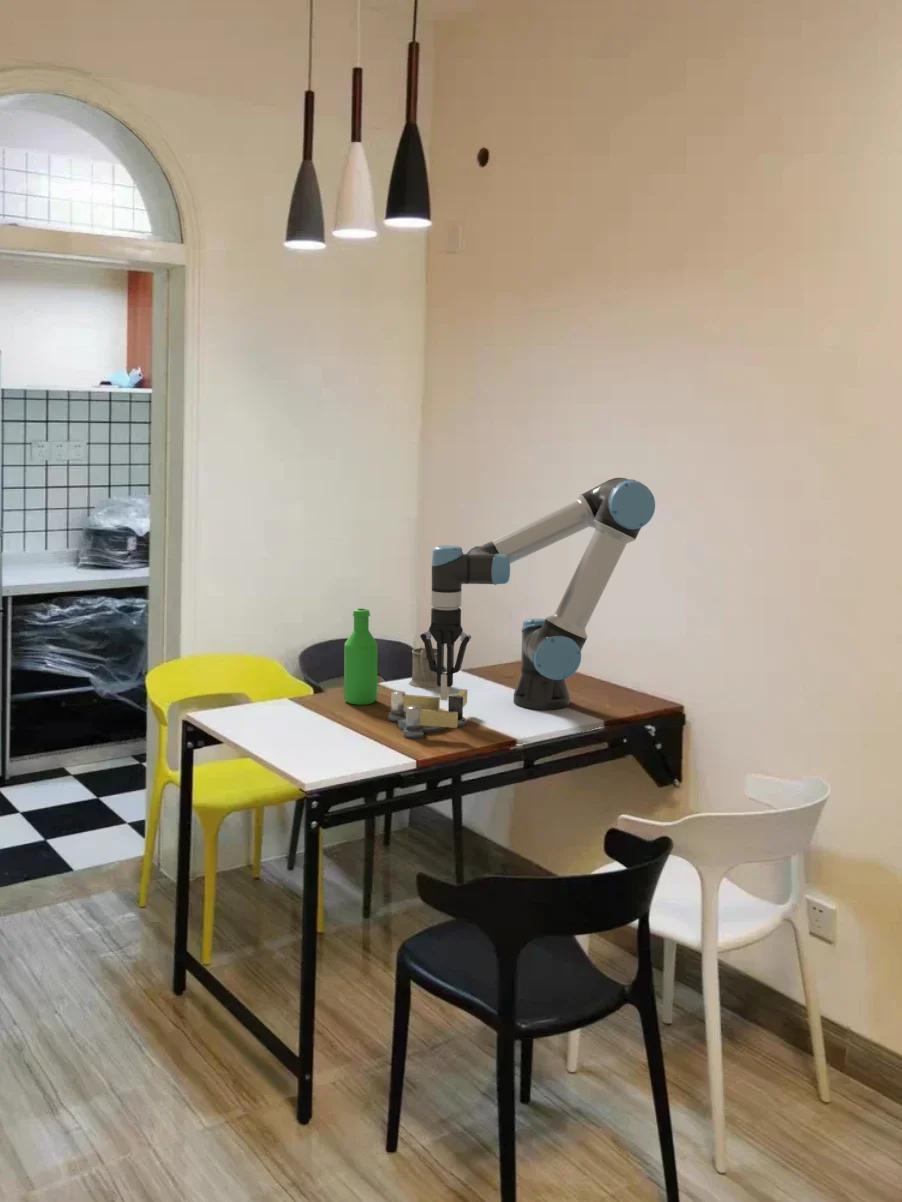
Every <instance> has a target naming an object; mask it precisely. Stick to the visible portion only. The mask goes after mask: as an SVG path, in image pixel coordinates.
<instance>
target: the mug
mask: <svg viewBox="0 0 902 1202" xmlns="http://www.w3.org/2000/svg"><path fill="white" fill-rule="evenodd" d="M433 652H434V656H435V661H436V665H437V647H436V648H435V647H434V648H433ZM411 653H412V672H411V673H412V675H411V676H412V677H411V680H410V681H409V682H408V685H410V686H412V687H414V688H420V689H421V688H422V689H432V688H433V689H435V688H441V686H438V685H437V673H436V672H434V671H431V670H430V667H429V663H428V658H427V654H426V649H425V646H419V647H418V648H414V649H412V650H411Z"/></svg>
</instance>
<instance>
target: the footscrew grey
mask: <svg viewBox="0 0 902 1202" xmlns="http://www.w3.org/2000/svg"><path fill="white" fill-rule="evenodd" d="M405 712H406V730H407V731H411V732H417V731H420V730H421V725H427V726H439V727H446V728H452V729H457V728H458V727H457V725H458V712H450V711H448V710H440V711H438V710H425V709H421V707H420V706H416V705H411V706H407V707H406V709H405Z"/></svg>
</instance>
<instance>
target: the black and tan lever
mask: <svg viewBox="0 0 902 1202" xmlns="http://www.w3.org/2000/svg"><path fill="white" fill-rule="evenodd" d="M447 700H448V705H447V706H448V707H447V708H448V709H447V711H450V712H458V720H462V719H463V714H464V712H463V711H464V710H463V708H464V707H465V706H466V704H467V703H468V689H467V688H464V689H463V688H462V689H461V690H459V692H458V693H457V694H456V695H454V694H453V695H449V698H448V699H447Z"/></svg>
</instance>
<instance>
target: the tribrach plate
mask: <svg viewBox="0 0 902 1202" xmlns="http://www.w3.org/2000/svg"><path fill="white" fill-rule="evenodd" d="M387 721H389V722H392V723H397V728H398V729H399V730H401V731H402V736H403V737H404V738H405V739H414V740H415V739H421V738H424V737H425V734H432V733H433V734H434V733H439V732H442V731H444V730H446V728H447V727H439V726H427V725H421V730H420V731H417V732H411V731H407V730H406V711H405V714H403V715H401V716H395V715H391V711H390V712H388V713H387ZM465 726H466V718H465V717H463V719H462V720H458V725H457V728H461V727H465Z"/></svg>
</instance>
